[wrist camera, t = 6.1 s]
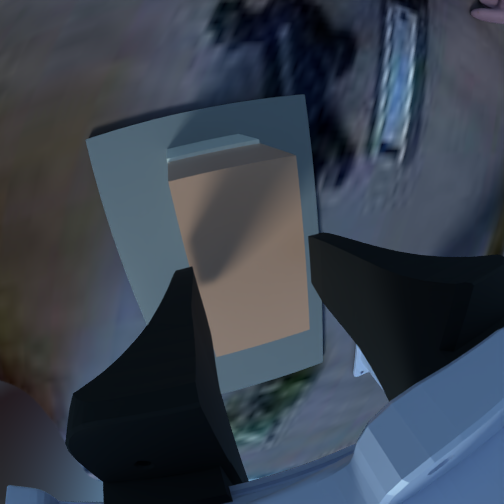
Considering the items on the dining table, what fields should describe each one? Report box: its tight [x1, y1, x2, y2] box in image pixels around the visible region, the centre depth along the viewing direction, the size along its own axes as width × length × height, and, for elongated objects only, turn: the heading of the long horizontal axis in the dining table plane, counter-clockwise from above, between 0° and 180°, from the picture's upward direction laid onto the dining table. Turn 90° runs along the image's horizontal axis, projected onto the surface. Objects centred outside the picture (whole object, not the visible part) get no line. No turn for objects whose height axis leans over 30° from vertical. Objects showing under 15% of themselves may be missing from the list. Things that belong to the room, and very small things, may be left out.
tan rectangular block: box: [168, 143, 310, 357], centre depth 14 cm, size 4×8×4 cm, turn 8°
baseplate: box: [86, 94, 323, 394], centre depth 23 cm, size 14×24×1 cm, turn 9°
